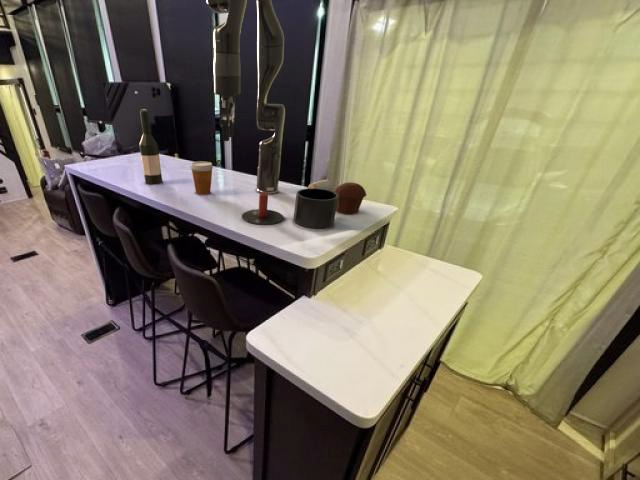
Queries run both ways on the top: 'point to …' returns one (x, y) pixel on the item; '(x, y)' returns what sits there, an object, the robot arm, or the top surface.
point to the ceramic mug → (322, 185)
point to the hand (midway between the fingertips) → (227, 139)
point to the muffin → (349, 198)
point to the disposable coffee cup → (202, 177)
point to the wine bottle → (149, 153)
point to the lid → (262, 213)
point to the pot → (315, 208)
